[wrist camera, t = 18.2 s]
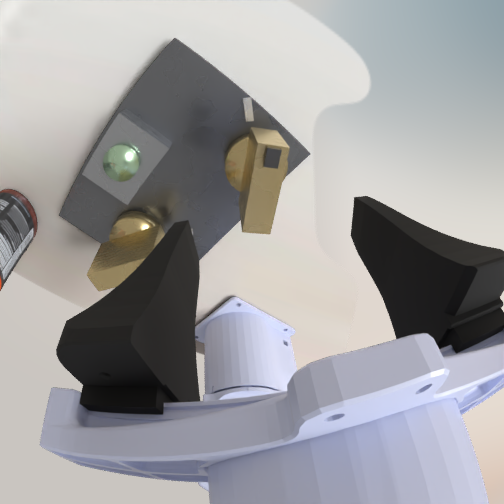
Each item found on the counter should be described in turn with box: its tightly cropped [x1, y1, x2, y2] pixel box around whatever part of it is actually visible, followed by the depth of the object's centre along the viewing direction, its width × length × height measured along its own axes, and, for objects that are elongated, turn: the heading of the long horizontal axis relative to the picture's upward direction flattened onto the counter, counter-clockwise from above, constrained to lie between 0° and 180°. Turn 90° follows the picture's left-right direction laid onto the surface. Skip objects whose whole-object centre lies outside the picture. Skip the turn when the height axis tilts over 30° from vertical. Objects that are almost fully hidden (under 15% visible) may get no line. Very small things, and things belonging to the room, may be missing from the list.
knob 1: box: [87, 211, 165, 291], centre depth 19 cm, size 5×4×5 cm
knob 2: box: [225, 127, 290, 234], centre depth 17 cm, size 5×4×5 cm
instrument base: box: [59, 38, 310, 260], centre depth 19 cm, size 12×16×3 cm
